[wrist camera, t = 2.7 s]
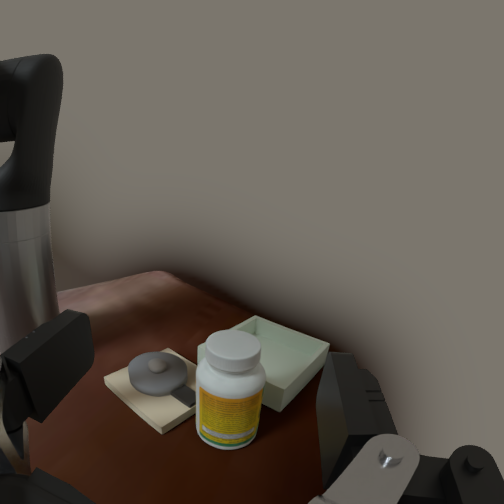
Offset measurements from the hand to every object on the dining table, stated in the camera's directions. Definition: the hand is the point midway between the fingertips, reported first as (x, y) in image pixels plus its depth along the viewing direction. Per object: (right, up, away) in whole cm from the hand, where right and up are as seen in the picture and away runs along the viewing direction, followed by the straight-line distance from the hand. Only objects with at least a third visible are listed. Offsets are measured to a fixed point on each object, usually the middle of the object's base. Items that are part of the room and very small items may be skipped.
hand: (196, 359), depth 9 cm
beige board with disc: (-7, -10, +19) cm, 23 cm away
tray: (+3, -10, +25) cm, 27 cm away
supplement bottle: (0, -12, +15) cm, 20 cm away
